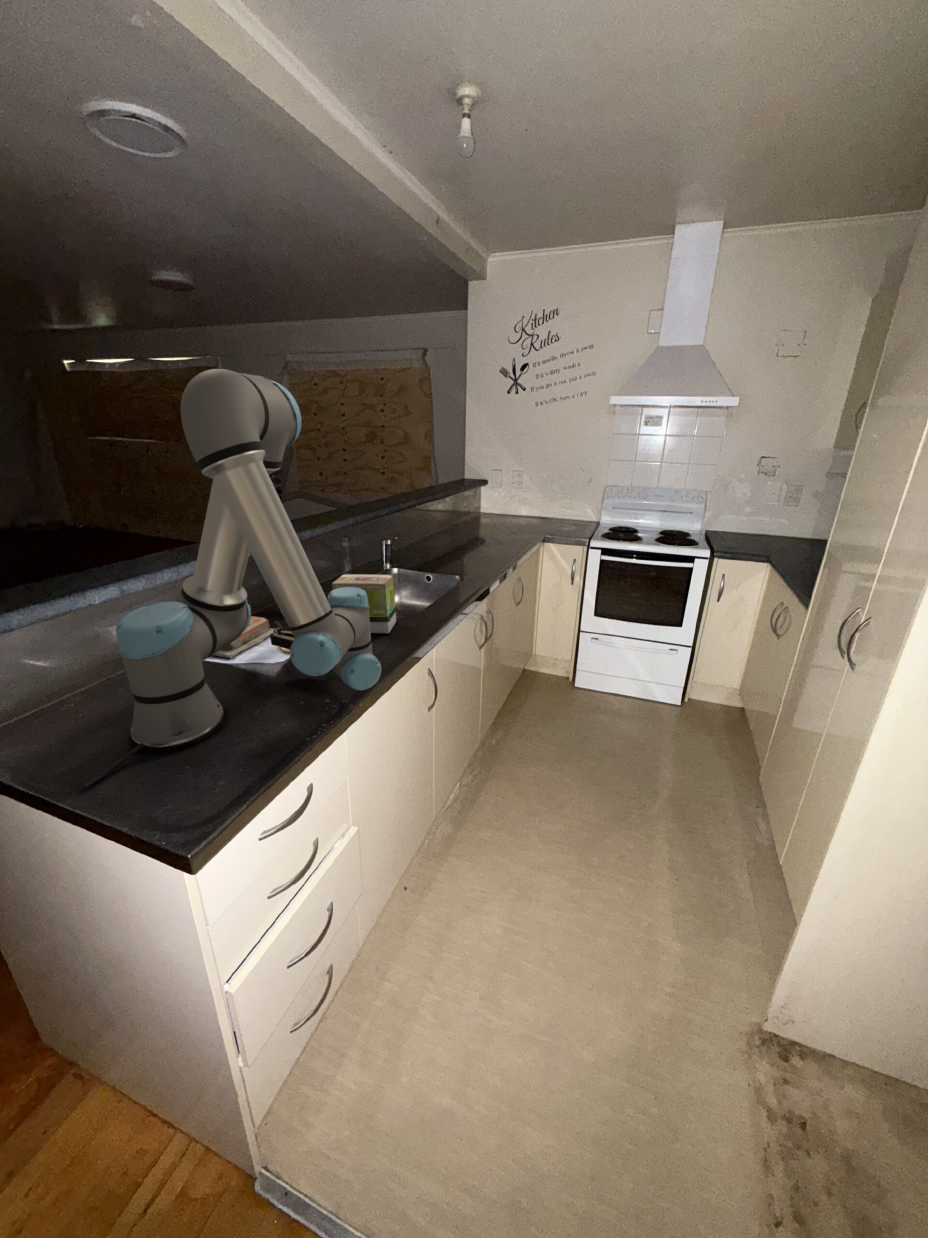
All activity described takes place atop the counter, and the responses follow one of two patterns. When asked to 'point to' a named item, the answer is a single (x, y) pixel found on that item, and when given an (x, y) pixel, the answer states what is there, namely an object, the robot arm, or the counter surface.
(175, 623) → the robot arm
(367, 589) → the tea box
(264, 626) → the packaged product
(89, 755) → the counter surface
